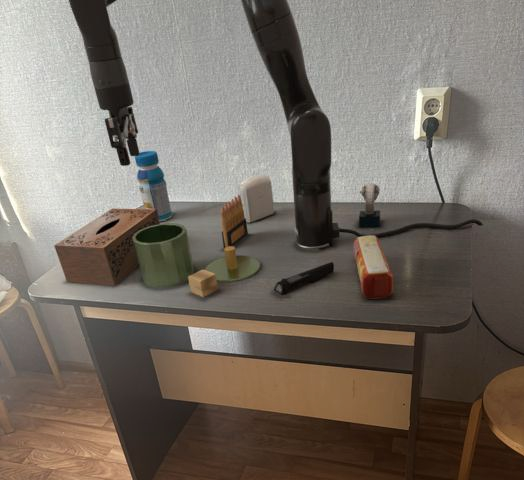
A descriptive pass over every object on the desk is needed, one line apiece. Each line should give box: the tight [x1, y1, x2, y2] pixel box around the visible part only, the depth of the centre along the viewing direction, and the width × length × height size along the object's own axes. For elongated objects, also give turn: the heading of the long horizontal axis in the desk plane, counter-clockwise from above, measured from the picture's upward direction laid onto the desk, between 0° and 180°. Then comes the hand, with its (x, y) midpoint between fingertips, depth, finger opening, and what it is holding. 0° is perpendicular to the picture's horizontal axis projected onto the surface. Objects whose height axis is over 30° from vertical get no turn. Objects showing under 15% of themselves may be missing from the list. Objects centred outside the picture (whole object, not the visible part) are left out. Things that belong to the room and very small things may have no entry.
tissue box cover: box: [53, 207, 161, 287], centre depth 135 cm, size 26×14×10 cm, turn 161°
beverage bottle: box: [134, 150, 173, 223], centre depth 158 cm, size 8×8×20 cm
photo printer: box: [238, 174, 275, 223], centre depth 152 cm, size 10×4×12 cm, turn 127°
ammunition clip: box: [220, 193, 249, 249], centre depth 137 cm, size 11×2×12 cm, turn 153°
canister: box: [132, 222, 195, 288], centre depth 124 cm, size 13×13×12 cm
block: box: [188, 268, 219, 298], centre depth 117 cm, size 4×4×4 cm
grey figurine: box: [358, 182, 381, 229], centre depth 139 cm, size 6×8×11 cm
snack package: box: [353, 234, 394, 300], centre depth 114 cm, size 21×7×7 cm, turn 177°
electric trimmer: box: [274, 261, 335, 296], centre depth 116 cm, size 4×16×3 cm, turn 122°
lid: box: [204, 246, 261, 283], centre depth 124 cm, size 14×14×6 cm
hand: (130, 160), depth 120 cm, fingers open, 8 cm apart
